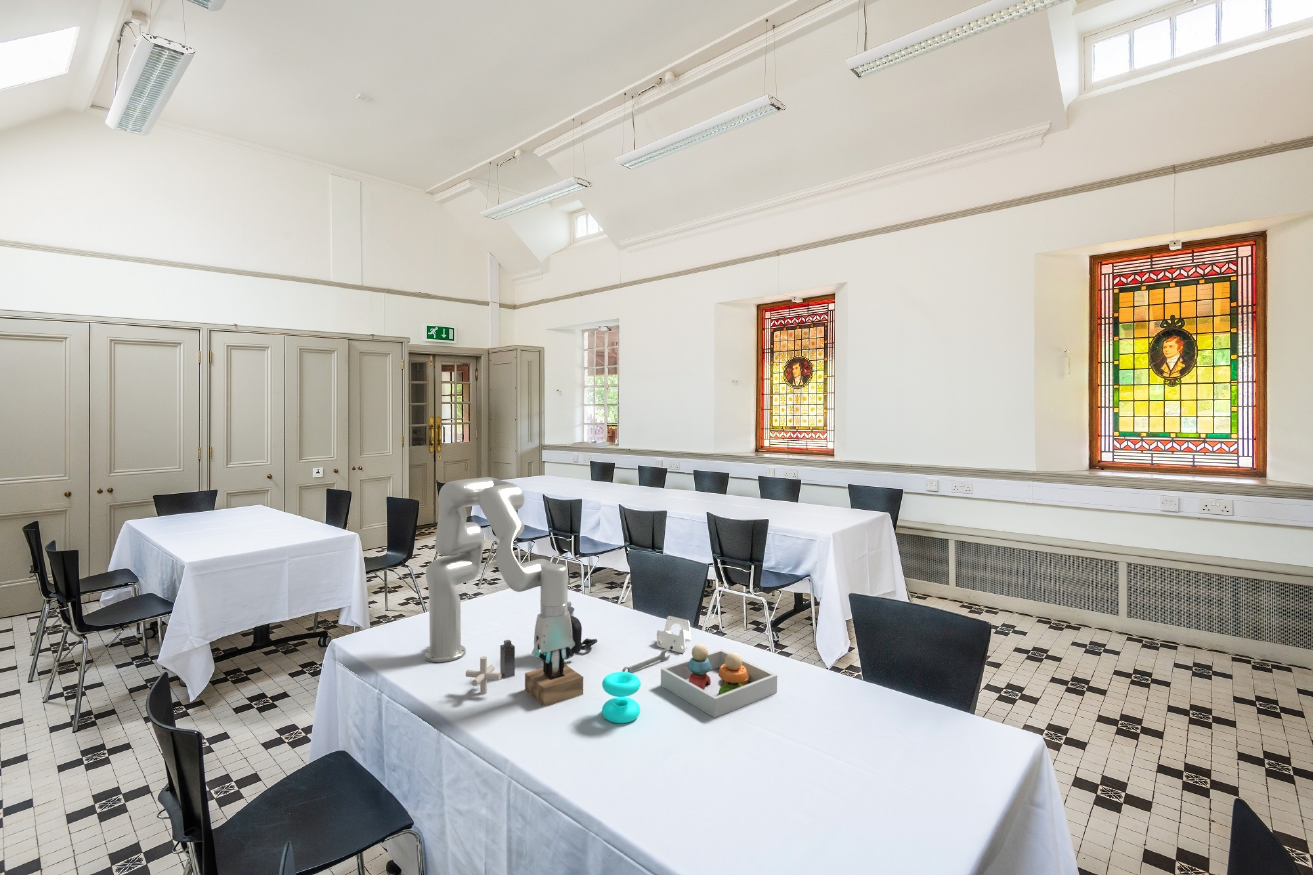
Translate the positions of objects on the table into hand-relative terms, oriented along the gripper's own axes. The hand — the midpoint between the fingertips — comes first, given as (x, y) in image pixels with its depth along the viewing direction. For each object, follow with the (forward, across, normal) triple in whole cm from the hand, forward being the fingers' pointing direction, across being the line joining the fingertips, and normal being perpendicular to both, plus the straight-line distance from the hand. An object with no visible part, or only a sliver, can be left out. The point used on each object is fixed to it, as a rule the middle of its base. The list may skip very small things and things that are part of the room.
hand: (553, 672), depth 170 cm
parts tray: (+6, -39, +26) cm, 47 cm away
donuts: (+6, -8, +22) cm, 24 cm away
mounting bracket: (+6, -49, -6) cm, 50 cm away
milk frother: (+6, -18, -22) cm, 29 cm away
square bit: (+6, +6, -18) cm, 20 cm away
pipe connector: (+6, +16, -11) cm, 20 cm away
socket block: (+6, 0, 0) cm, 6 cm away
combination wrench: (+6, -31, +2) cm, 32 cm away
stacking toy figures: (+6, -40, +25) cm, 48 cm away
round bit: (+2, 0, 0) cm, 2 cm away
